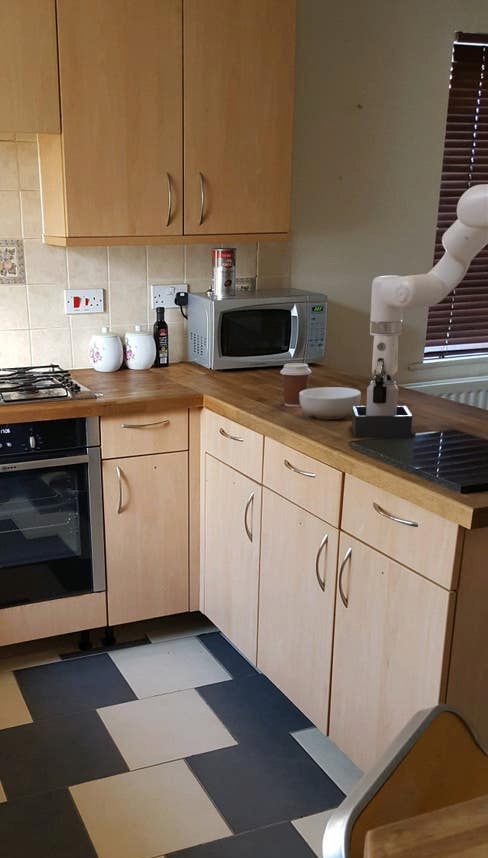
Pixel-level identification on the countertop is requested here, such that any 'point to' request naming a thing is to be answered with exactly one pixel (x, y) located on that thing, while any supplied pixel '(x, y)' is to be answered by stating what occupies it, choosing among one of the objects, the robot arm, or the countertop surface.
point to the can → (382, 408)
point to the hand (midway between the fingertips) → (382, 399)
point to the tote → (381, 424)
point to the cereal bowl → (329, 401)
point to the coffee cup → (294, 382)
